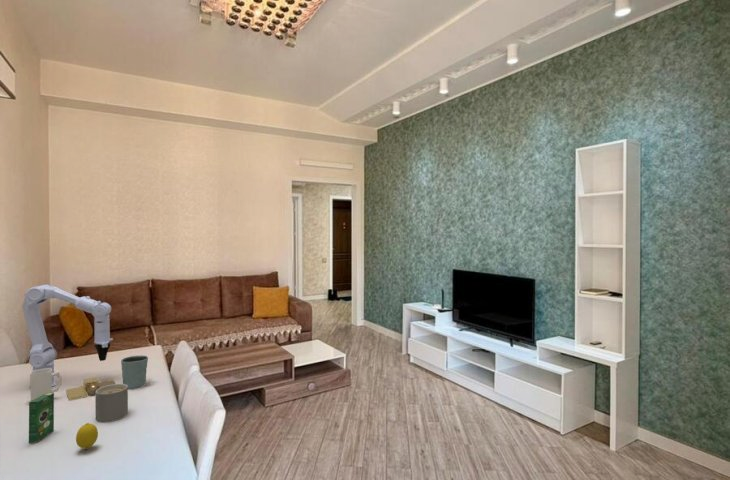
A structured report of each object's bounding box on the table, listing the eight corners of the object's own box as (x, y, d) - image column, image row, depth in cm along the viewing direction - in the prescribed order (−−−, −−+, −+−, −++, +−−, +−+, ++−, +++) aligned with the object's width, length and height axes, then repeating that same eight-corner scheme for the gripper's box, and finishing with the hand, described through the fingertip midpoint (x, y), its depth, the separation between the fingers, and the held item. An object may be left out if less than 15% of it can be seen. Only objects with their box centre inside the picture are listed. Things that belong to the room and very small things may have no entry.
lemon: (83, 444, 124) (83, 419, 124) (101, 444, 124) (101, 418, 124) (71, 454, 118) (71, 427, 118) (91, 453, 119) (91, 427, 119)
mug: (28, 406, 152) (28, 375, 152) (31, 400, 157) (31, 370, 157) (61, 400, 158) (61, 370, 157) (62, 394, 163) (62, 365, 163)
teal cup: (115, 388, 170) (115, 360, 170) (137, 380, 180) (137, 354, 180) (132, 391, 167) (132, 363, 167) (153, 383, 176) (153, 356, 176)
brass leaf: (66, 391, 166) (66, 383, 166) (96, 385, 173) (96, 377, 173) (69, 400, 157) (69, 391, 157) (100, 393, 164) (100, 384, 164)
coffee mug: (130, 416, 143) (130, 389, 143) (97, 425, 137) (97, 396, 137) (123, 404, 154) (123, 379, 153) (92, 412, 147) (92, 385, 147)
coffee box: (45, 430, 133) (45, 392, 133) (54, 430, 133) (54, 391, 133) (27, 443, 125) (27, 402, 125) (37, 442, 125) (37, 401, 125)
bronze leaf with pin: (84, 388, 170) (84, 379, 170) (113, 382, 177) (113, 374, 177) (88, 396, 161) (88, 387, 161) (118, 389, 168) (118, 381, 168)
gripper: (115, 331, 175) (115, 362, 175) (109, 326, 186) (110, 354, 186) (96, 334, 170) (96, 365, 170) (91, 328, 181) (92, 358, 181)
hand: (102, 360), depth 178 cm, fingers closed
